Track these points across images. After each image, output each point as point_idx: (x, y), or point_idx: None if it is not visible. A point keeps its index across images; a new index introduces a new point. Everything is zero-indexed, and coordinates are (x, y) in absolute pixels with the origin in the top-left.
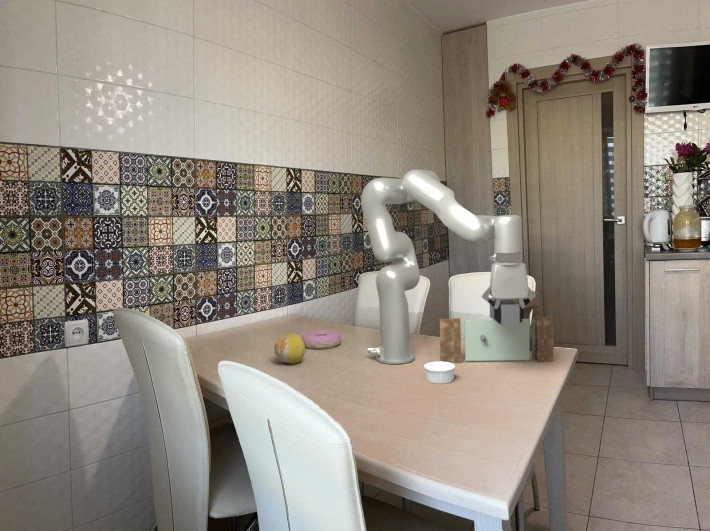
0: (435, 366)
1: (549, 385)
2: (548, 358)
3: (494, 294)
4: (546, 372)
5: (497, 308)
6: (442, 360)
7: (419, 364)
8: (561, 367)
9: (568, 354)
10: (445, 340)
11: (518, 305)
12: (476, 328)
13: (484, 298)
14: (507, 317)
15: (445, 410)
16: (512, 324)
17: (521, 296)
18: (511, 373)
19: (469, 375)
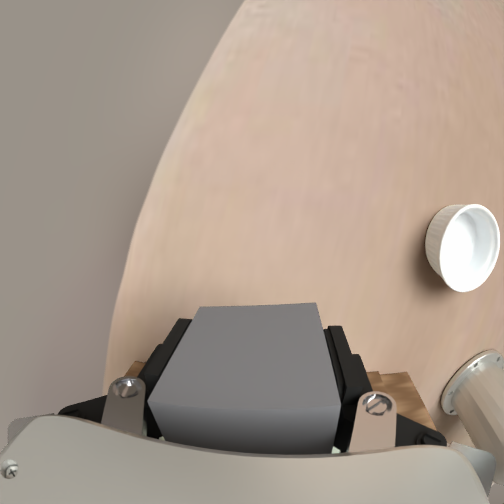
0: (466, 279)
1: (176, 169)
2: (142, 367)
3: (467, 477)
4: (160, 282)
5: (364, 396)
6: (405, 375)
7: (451, 356)
8: (122, 316)
9: (106, 391)
10: (415, 411)
11: (160, 396)
12: (334, 448)
13: (477, 454)
14: (278, 335)
15: (449, 40)
16: (245, 309)
17: (82, 435)
18: (256, 282)
19: (378, 271)
